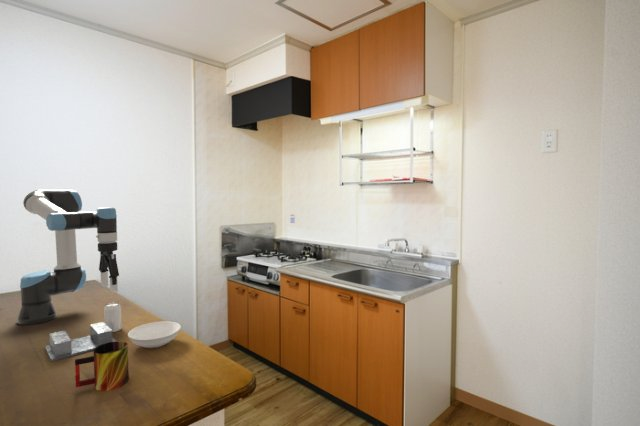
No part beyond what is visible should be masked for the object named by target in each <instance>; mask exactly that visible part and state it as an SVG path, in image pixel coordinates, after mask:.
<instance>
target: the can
mask: <svg viewBox="0 0 640 426" xmlns="http://www.w3.org/2000/svg"><path fill="white" fill-rule="evenodd" d="M103 310H104V314H103V315H104V317H103V318H104V323H105V324H106V325H107V326H108V327H109V328H110V329H111V330H112V333H116V332H119V331H120V330H121V329H122V312H121V311H122V307H121V304H120V302H109V303H106V304H105V305H104V308H103Z"/></svg>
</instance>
